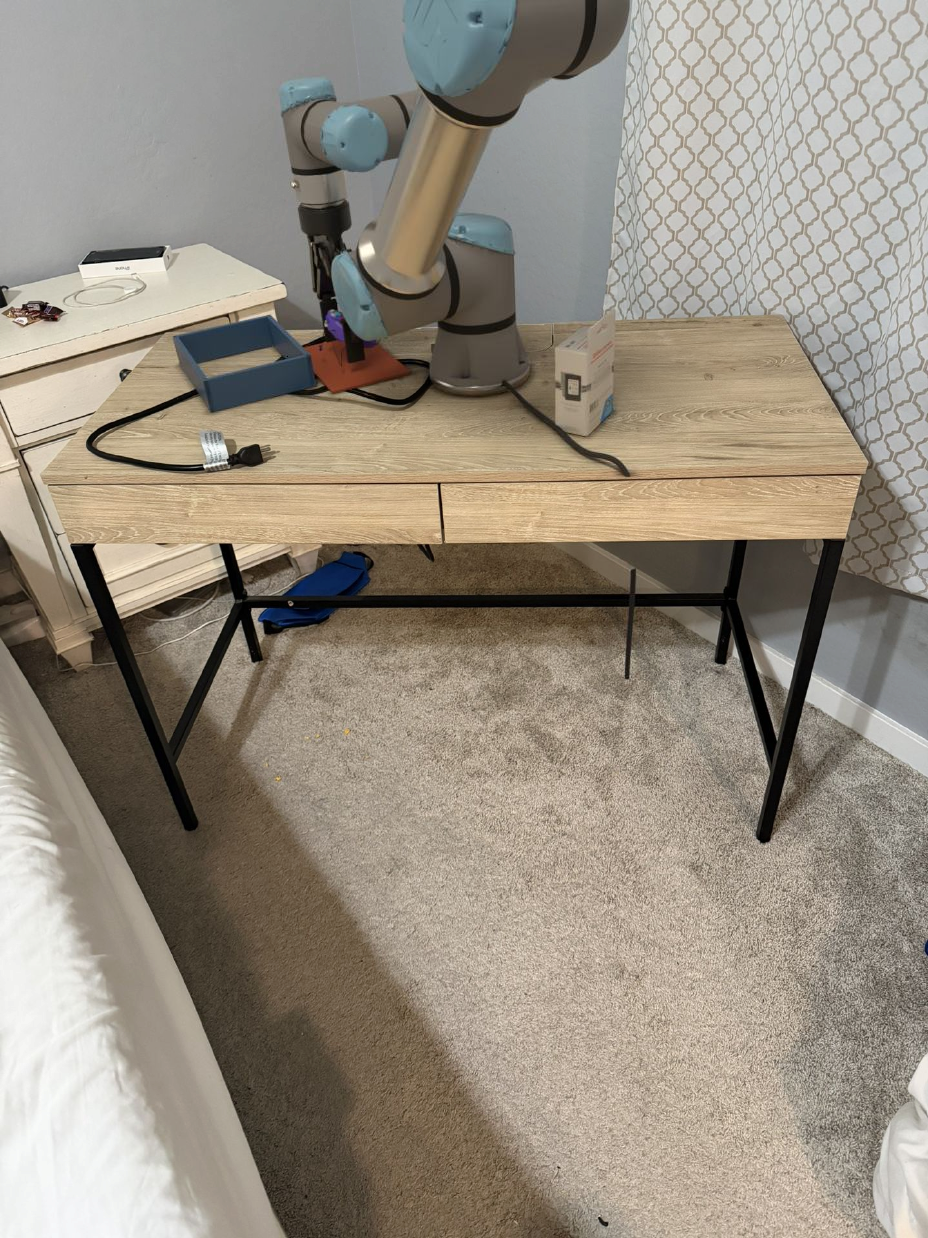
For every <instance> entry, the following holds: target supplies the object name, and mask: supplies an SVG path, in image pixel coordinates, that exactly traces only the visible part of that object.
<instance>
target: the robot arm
mask: <svg viewBox="0 0 928 1238" xmlns="http://www.w3.org/2000/svg"><path fill="white" fill-rule="evenodd" d="M403 1H404V2H403V5H402V6H403V7H402V19H401V20H402V22H403V23H404V24H405V29H404V31H403V33H402V41H403V48H404V53H405V57H406V61H407V64H408V66H409V69H410V71H411V73H412V75H413V78H414V79H415V80H414V82H415V84H416V86H417V88H418V89H415V90H411V91H406V92H401V93H394V94H389V95H384V96H378V97H371V98H366V99H360V100H353V101H350V102H340V101H338V100H337V96H336V92H335V89H334V85H333V83H332V81H331V80H330V79H329V78H326V77H319V76H317V77H315V76H314V77H302V78H295V79H290V80H287V81H285V82H283V83H282V84H280V87H279V91H278V93H279V102H280V117H281V118H282V124H283V130H284V135H285V140H286V146H287V152H288V157H289V163H290V169H291V170H290V171H291V174H292V175H291V176H292V178H293V181H290V183H289V185H290V187H291V189H292V190H294V193H295V198H296V199H295V200H296V202H297V203H299V205H298V207H297V215H298V218H299V225H300V230H301V232H302V233H303V234H305V235H306V239H307V243H308V244H307V245H308V250H309V260H310V263H309V264H310V274H311V275H310V276H311V284H312V285H311V287H312V288H311V289H312V292H313V293H314V294H316V298H317V300H318V303H319V310H320V315H321V324H322V328H323V333H324V341H325V342H327V343H328V342H332V341H336V339H335V338H334V336H333V334H332V333H331V332H330V331H329V330H328V327H325V320H326V315H327V314H328V311H329V310H331V309H332V308H333V309H332V310H336V311H339V310H340V312H342V315H343V319H340V321H339V322H340V324H342V328H343V334H344V341H345V348H346V355H347V361H348V363H349V364H350V363H354V362H358V361H362V360H365V353H364V345H363V340H366V341H371V340H376V341H377V340H381V339H388V338H389V337H393V336H396V335H400V334H402V333H406V332H409V331H412V330H415V329H418V328H419V329H420V328H422V327H425V326H428V325H431V324H435V323H437V331H436V336H435V341H434V343H430V351H431V352H430V353H431V358H430V362H429V369H428V370H429V371H428V372H429V379H430V383H431V385H432V386H433V387H434V388H436V389H437V390H439V391H442V392H444V393H447V394H450V395H456V396H461V397H462V396H463V397H483V396H490V395H491V396H493V395H497V394H502V393H505V392H508V391H509V392H510V393H511V394H512V395H513V396H514V397H515V398H516V399H517V400H518V401H519V403H521V405H523V406H524V407H525V408H526V409H528V410H529V411H530V412H531V413H532V414H533V415H535V416H536V417H538V418H539V419H540V420H541V421H543V422H544V423H546V424H547V425H548V426H549V427H551V428H552V429H554V431H556V432H557V433H558V435H560V437H562V439H564V441H565V442H566V443H568V445H570V446H571V447H572V448H573V449H575V450H576V451H578V452H579V453H580V454H582V455H584V456H586V457H590V458H594V459H600V460H604V461H608V462H610V463H612V464H614V465H615V466H617V468H618V469H619V470H620V471H621V473H622V474H623V476H624V477H626V478H631V474H630V472H629V469H628V468H627V466H626V465H625V464H624V463H623V462H622V461H621V460H620V459H618V458H617V457H615V456H613V455H611V454H608V453H604V452H598V451H592V450H589V449H587V448H585V447H583V446H582V445H580V444H579V443H578V442H577V441H575V440H574V439H573V438H572V437H571V436H570V435H569V434H568V433H567V432H564V431H563V430H562V429H561V428H560V427H559V426H558V425H556V423H555V422H554V421H553V420H552V419H551V418H549V417H548V416H546V415H545V414H544V413H543V412H541V411H540V410H538V409H537V408H536V407H534V405H532V404H530V403H529V402H528V401H527V400H526V399H525V398H524V397H523V396H522V395H521V394H520V393H519V391H517V389H516V388H518V387H519V386H521V385H523V384H524V383H525V382H527V380H528V379H529V377H530V371H531V370H530V360H529V356H528V353H527V350H526V348H525V345H524V341H523V339H522V336H521V334H520V331H519V327H518V325H517V311H516V309H517V307H516V276H515V274H516V273H515V255H516V250H515V243H514V236H513V230H512V227H511V225H510V223H509V222H508V221H506V220H505V219H503V218H501V217H498V216H495V215H490V214H485V213H477V212H476V213H474V212H459V210H460V208H461V206H462V203H463V201H464V199H465V196H466V194H467V192H468V190H469V187H470V185H471V183H472V181H473V179H474V176H475V174H476V171H477V169H478V167H479V164H480V162H481V160H482V157H483V155H484V153H485V150H486V148H487V147H488V144H489V141H490V139H491V137H492V135H493V132H494V130H495V129H496V128H500V127H502V126H504V125H506V124H508V123H509V122H510V121H512V120H513V119H514V118H515V116H516V115H517V114H518V112H519V110H520V108H521V105H522V103H523V101H524V99H525V97H526V96H527V95H529V94H530V93H531V92H533V91H534V90H536V89H538V88H540V87H542V86H543V85H544V84H546V83H548V82H550V81H552V80H556V81H568V80H571V79H573V78H575V77H577V76H580V75H581V74H583V73H584V72H586V71H588V70H589V69H591V68H593V67H595V66H597V65H599V64H600V63H602V62H603V61H604V60H605V59H606V58H608V57H609V56H610V55H611V53H612V52H613V51H614V50H615V49H616V48H617V46H618V45H619V42H620V41H621V39H622V37H623V36H624V33H625V30H626V28H627V24H628V21H629V16H630V10H631V9H630V7H631V0H403ZM396 159H397V161H396V164H395V166H394V170H393V173H392V176H391V179H390V181H389V185H388V189H387V191H386V194H385V196H384V197H385V198H384V201H383V204H382V206H381V209H380V212H379V216H378V217H377V218H375V219H373V220H371V221H370V222H368V224H367V225H365V226H364V228H363V229H362V231H361V233H360V235H359V239H358V242H357V246H356V248H355V250H353V249H352V248H348V249H347V245H346V243H345V242H344V241H343V237H342V235H343V234H344V232H347V231H349V230H350V229H351V227H352V225H353V221H352V215H351V207H350V202H349V201H348V200H347V198H348V196H349V189H348V181H347V174H346V171H347V172H350V173H367V172H371V171H372V170H374V169H375V168H376V167H378V166H379V165H380V163H382V162H386V161H387V162H388V161H391V160H396ZM335 297H336V298H335ZM337 303H338V304H337ZM336 304H337V305H336ZM334 305H335V306H334ZM333 306H334V307H333ZM339 308H340V309H339ZM324 328H325V331H324ZM331 338H332V340H331ZM380 338H381V339H380ZM636 583H637V568H635V567H634V568H632V569H630V580H629V601H628V614H627V625H626V626H627V629H626V640H625V656H624V657H625V658H624V680H630V675H631V657H632V654H631V653H632V641H633V640H632V639H633V631H634V630H633V628H634V615H635V605H636V603H635V602H636V589H637V588H636V585H637V584H636Z"/></svg>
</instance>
